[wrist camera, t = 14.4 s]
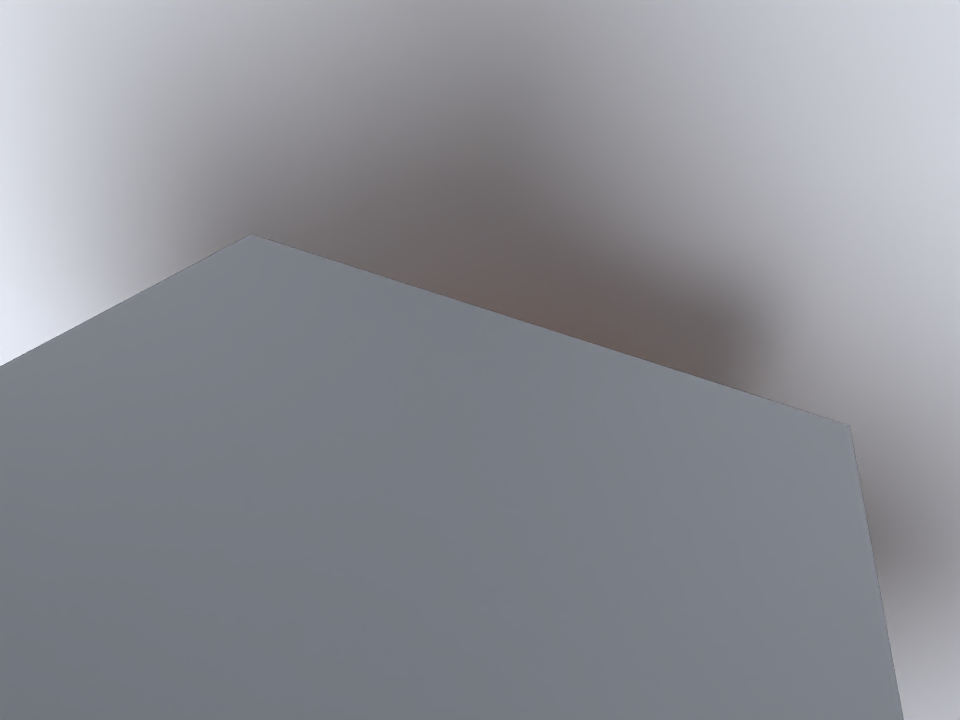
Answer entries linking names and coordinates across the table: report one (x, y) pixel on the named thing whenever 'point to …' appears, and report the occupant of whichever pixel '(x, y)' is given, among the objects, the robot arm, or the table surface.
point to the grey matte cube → (414, 519)
